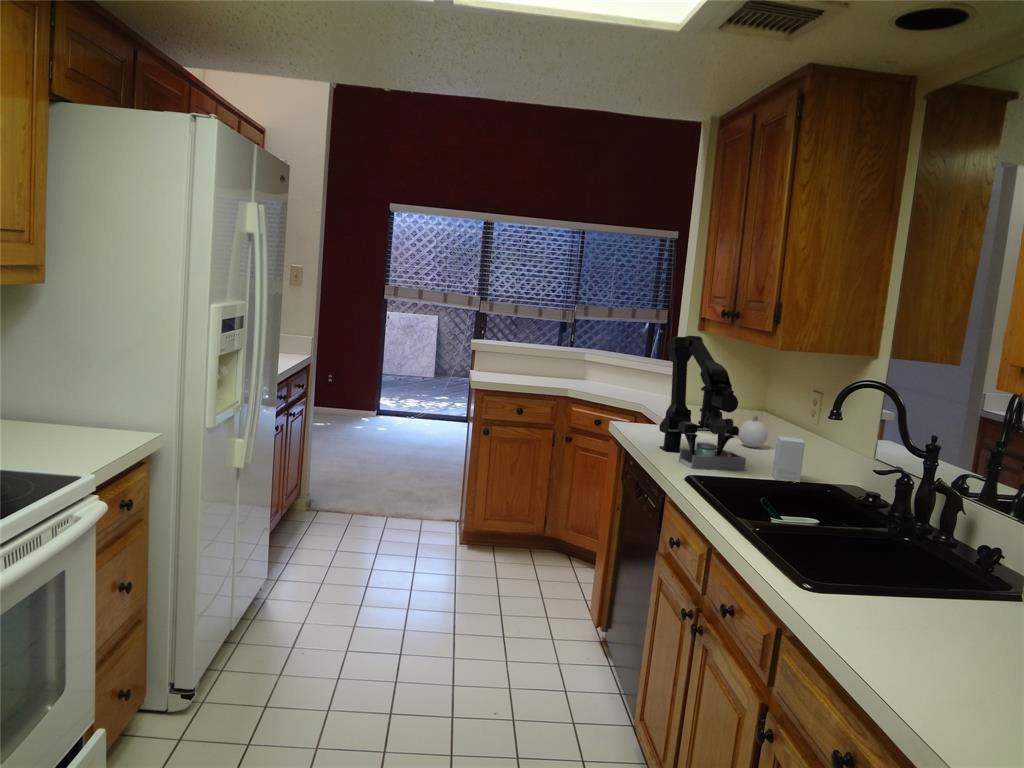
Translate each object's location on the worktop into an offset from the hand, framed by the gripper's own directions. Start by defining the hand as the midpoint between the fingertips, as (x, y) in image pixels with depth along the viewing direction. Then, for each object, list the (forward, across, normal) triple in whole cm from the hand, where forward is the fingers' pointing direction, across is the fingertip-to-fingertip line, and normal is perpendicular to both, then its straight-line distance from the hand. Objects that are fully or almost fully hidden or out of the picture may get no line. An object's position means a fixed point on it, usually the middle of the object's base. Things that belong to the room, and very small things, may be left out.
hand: (705, 454), depth 244 cm
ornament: (+4, +36, +34) cm, 50 cm away
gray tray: (+4, +2, 0) cm, 4 cm away
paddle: (+3, +6, 0) cm, 7 cm away
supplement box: (+4, +20, -14) cm, 25 cm away
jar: (+4, 0, 0) cm, 4 cm away
